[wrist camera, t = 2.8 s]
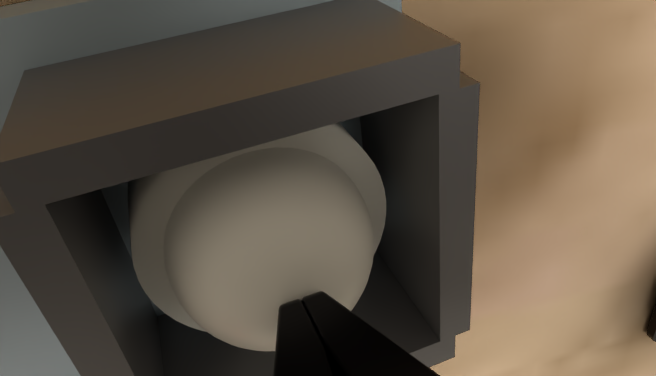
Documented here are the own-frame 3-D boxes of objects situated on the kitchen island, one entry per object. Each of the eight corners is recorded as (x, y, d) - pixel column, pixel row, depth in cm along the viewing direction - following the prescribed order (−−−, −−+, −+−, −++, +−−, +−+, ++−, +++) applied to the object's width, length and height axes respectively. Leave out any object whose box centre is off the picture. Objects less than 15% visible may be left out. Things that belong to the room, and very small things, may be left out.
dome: (341, 56, 12) (438, 138, 9) (362, 243, 15) (440, 358, 12) (89, 120, 11) (82, 245, 7) (168, 308, 14) (190, 458, 11)
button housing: (380, -11, 12) (481, 37, 9) (398, 255, 16) (469, 351, 13) (2, 75, 10) (-45, 173, 7) (136, 345, 15) (146, 481, 12)
